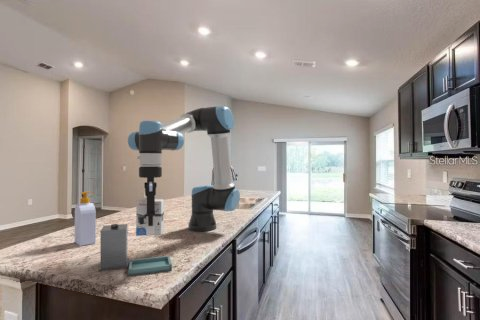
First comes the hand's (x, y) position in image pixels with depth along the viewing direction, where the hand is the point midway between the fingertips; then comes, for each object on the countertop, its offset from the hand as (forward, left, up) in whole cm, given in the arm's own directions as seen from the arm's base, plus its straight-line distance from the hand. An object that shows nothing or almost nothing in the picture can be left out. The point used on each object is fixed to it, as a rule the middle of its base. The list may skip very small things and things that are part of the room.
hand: (150, 232), depth 95 cm
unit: (+12, -7, -12) cm, 18 cm away
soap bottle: (+27, -40, -12) cm, 50 cm away
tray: (0, 0, -12) cm, 12 cm away
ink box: (0, 0, -1) cm, 1 cm away
